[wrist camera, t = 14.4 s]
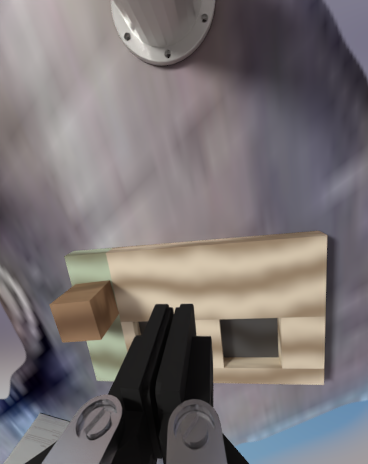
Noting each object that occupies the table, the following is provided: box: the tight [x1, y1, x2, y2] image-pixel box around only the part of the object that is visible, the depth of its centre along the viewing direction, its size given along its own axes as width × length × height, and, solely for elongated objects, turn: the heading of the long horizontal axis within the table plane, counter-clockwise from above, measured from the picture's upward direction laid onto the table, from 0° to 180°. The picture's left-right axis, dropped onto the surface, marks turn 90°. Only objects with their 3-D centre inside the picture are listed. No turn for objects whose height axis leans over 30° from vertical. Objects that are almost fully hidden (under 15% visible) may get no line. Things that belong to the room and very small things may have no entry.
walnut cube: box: [50, 280, 119, 342], centre depth 34 cm, size 6×6×6 cm
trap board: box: [64, 231, 327, 385], centre depth 36 cm, size 24×38×2 cm, turn 97°
